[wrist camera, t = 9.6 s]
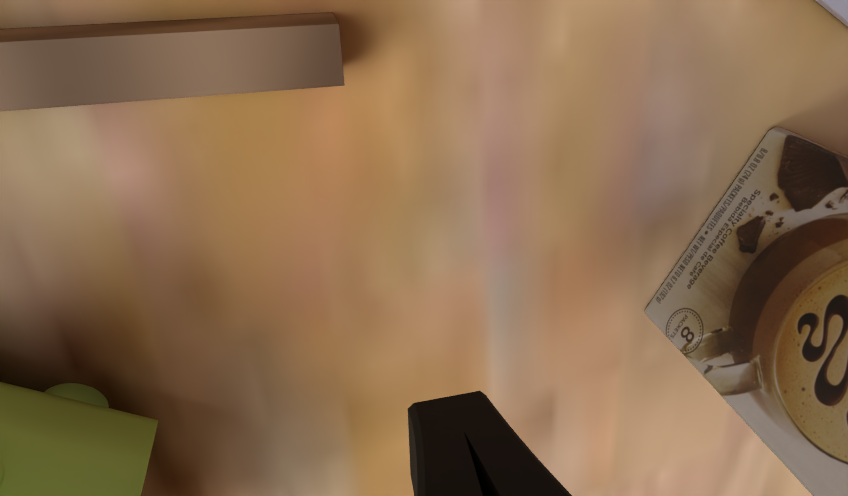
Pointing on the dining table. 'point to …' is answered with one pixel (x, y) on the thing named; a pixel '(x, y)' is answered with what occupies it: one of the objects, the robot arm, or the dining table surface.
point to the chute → (167, 59)
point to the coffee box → (774, 305)
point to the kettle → (70, 443)
